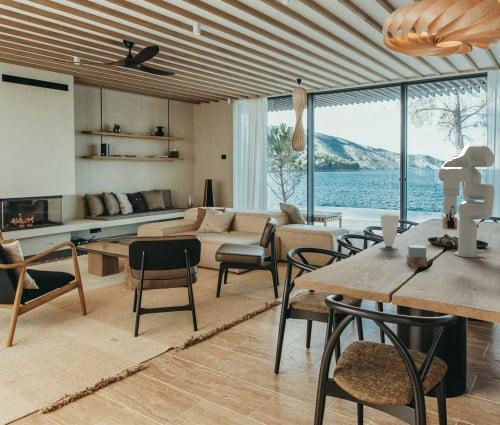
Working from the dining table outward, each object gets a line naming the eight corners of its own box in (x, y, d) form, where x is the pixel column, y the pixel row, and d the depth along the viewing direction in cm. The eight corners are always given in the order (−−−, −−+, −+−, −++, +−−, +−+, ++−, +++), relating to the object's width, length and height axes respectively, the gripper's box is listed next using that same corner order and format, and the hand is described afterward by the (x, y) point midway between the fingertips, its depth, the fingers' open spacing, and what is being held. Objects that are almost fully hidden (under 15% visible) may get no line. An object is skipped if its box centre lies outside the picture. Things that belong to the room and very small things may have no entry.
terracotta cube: (454, 228, 234) (455, 216, 234) (456, 229, 229) (457, 218, 228) (442, 227, 236) (442, 216, 235) (444, 229, 230) (444, 217, 229)
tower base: (424, 264, 241) (424, 254, 240) (426, 267, 232) (427, 258, 232) (406, 263, 243) (406, 253, 243) (408, 266, 234) (408, 257, 234)
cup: (375, 248, 286) (376, 214, 283) (391, 247, 289) (392, 213, 287) (386, 251, 275) (387, 216, 273) (402, 250, 278) (403, 215, 276)
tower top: (424, 254, 240) (424, 245, 240) (426, 257, 232) (426, 248, 232) (408, 254, 242) (408, 244, 242) (409, 256, 234) (410, 247, 234)
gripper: (440, 191, 239) (439, 224, 241) (446, 193, 223) (444, 229, 225) (455, 191, 237) (454, 225, 239) (462, 193, 221) (460, 230, 223)
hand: (449, 227), depth 232 cm, fingers closed on terracotta cube, 6 cm apart
